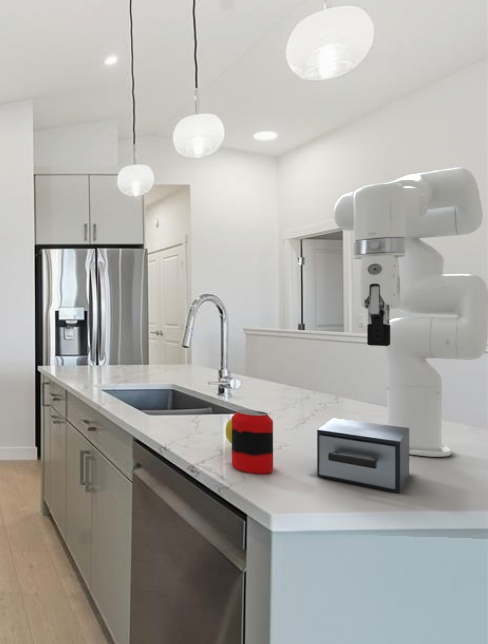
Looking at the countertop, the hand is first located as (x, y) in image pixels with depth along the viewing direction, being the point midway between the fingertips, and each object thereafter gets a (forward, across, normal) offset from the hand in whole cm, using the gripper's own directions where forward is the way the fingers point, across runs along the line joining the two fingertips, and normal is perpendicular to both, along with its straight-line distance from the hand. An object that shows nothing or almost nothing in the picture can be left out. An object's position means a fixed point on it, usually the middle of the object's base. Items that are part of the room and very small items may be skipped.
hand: (378, 345), depth 96 cm
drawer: (+26, +1, +3) cm, 26 cm away
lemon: (+27, +8, +27) cm, 39 cm away
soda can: (+27, -6, +20) cm, 34 cm away
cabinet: (+27, +5, +3) cm, 28 cm away
